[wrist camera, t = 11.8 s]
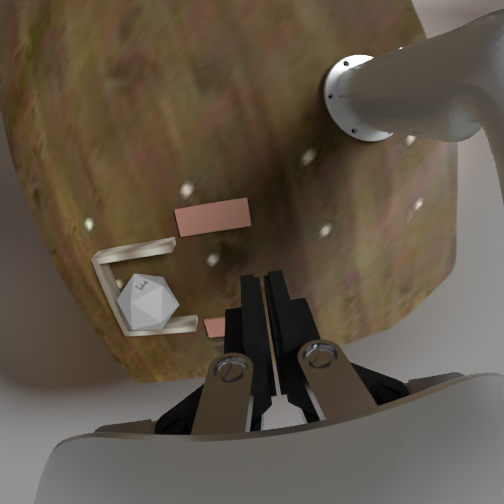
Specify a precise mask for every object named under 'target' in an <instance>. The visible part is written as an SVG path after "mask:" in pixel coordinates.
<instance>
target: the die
mask: <svg viewBox="0 0 504 504" xmlns="http://www.w3.org/2000/svg"><path fill="white" fill-rule="evenodd" d="M117 302H118V304H119V306H120V308H121V310H122V312H123V314H124V315H125V317H126V319H127V321H128V323H129V325H130V327H131V329H132V330H161V329H162V328H163V327H164V325H165V324H166V322H167V321H168V320H169V318H170V317H171V315H172V314H173V313H174V311H175V310H176V309H177V307H178V306H179V303H178V302H177V300H176V298H175V297H174V295H173V293H172V292H171V290H170V288H169V286H168V285H167V283H166V281H165V279H164V278H163V277H160V276H152V275H144V274H135V273H134V274H133V276H132V277H131V279H130V280H129V282H128V283H127V285H126V287H125V288H124V290H123V291H122V293H121V294H120V296H119V297H118V299H117Z"/></svg>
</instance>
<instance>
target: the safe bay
mask: <svg viewBox="0 0 504 504" xmlns="http://www.w3.org/2000/svg"><path fill="white" fill-rule="evenodd" d="M175 245H176V241H175V237H172V238H166V239H160V240H154V241H148V242H143V243H137V244H131V245H126V246H120V247H115V248H110V249H104V250H99V251H98V252H97V253H96V254H95V255H94V256H93V258H92V259H91V260H92V263H93V265H94V268H95V271H96V273H97V276H98V278H99V281H100V283H101V285H102V288H103V290H104V292H105V295H106V297H107V299H108V302H109V304H110V306H111V308H112V310H113V312H114V315H115V317H116V319H117V321H118V323H119V325H120V327H121V329H122V331H123V333H124V335H125V336H142V335H157V334H170V333H182V332H193V331H196V330H197V324H198V317H197V315H191V316H181V317H171V318H169V320H168V321H167V322H166V324H165V325H164V327H163V328H162V329H161V330H132V329H131V327H130V325H129V323H128V321H127V319H126V317H125V315H124V314H123V312H122V310H121V308H120V306H119V304H118V302H117V299H118V297H119V296H120V294H121V293H120V290H119V288H118V286H117V283H116V281H115V278H114V275H113V273H112V270H111V267H110V265H109V262H115V261H121V260H127V259H133V258H140V257H146V256H152V255H159V254H165V253H171V252H172V251H173V249H174V247H175Z"/></svg>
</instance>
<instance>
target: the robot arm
mask: <svg viewBox="0 0 504 504" xmlns="http://www.w3.org/2000/svg"><path fill="white" fill-rule="evenodd" d="M343 63H344V64H345V66H344V65H343ZM323 94H324V101H325V105H326V108H327V111H328V113H329V115H330V117H331V118H332V120H333V121H334V123H335V124H336V125H337V126H338V127H339V128H340V129H341V130H342V131H344V132H345V133H346V134H348V135H350V136H352V137H354V138H356V139H359V140H363V141H380V140H384V139H386V138H388V137H390V136H391V135H393V134H394V133H397V134H404V135H411V136H417V137H423V138H429V139H435V140H440V141H445V142H460V141H463V140H466V139H469V138H470V137H472V136H473V135H475V134H476V133H477V132H478V131H479V130H480V129H481V128H482V127H483V129H484V131H485V133H486V136H487V138H488V141H489V144H490V147H491V151H492V154H493V156H494V160H495V164H496V169H497V173H498V177H499V182H500V187H501V193H502V198H503V203H504V8H503V9H499V10H496V11H492V12H490V13H487V14H485V15H483V16H481V17H479V18H477V19H475V20H473V21H470V22H468V23H466V24H465V25H462V26H460V27H458V28H456V29H453V30H451V31H449V32H447V33H444V34H441V35H438V36H435V37H433V38H429V39H426V40H423V41H420V42H417V43H414V44H411V45H408V46H405V47H402V48H399V49H396V50H393V51H391V52H388V53H385V54H382V55H380V56H377V57H375V58H373V57H371V56H366V55H352V56H348V57H345V58H343V59H341V60H340V61H338V62H337V63H335V64H334V65H333V66H332V67H331V68H330V70H329V72H328V74H327V75H326V78H325V81H324V88H323ZM329 95H330V96H331V99H329V97H328V96H329ZM352 129H353V132H352ZM240 280H241V304H242V307H241V308H233V309H226V311H225V338H224V355H221V356H219V357H217V358H216V359H214V361H213V362H212V363H211V364H210V366H209V368H208V372H207V376H206V379H205V383H204V384H203V385H202V386H201V387H199V388H198V389H197V390H195V391H194V392H193V393H192V394H190V395H189V396H188V397H186V398H185V399H184V400H182V401H181V402H180V403H178V404H177V405H176V406H175V407H173V408H172V409H170V410H169V411H168V412H167V413H165V414H164V415H162V416H161V417H160V418H159V420H158V421H152V420H151V419H148V420H143V421H136V422H128V423H121V424H112V425H105V426H101V427H99V428H98V429H96V430H95V432H94V433H88V434H82V435H77V436H73V437H70V438H67V439H65V440H63V441H61V442H60V443H58V444H57V445H56V446H55V448H54V449H53V450H52V452H51V454H50V456H49V458H48V460H47V462H46V464H45V467H44V470H43V472H42V475H41V478H40V482H39V485H38V489H37V493H36V497H35V501H34V504H504V375H502V374H499V373H488V372H487V373H476V374H470V375H466V376H465V375H463V374H461V373H458V372H457V373H456V372H454V373H448V374H442V375H437V376H431V377H424V378H419V379H411V380H409V381H408V383H403V382H401V381H399V380H397V379H394V378H391V377H388V376H386V375H383V374H380V373H377V372H375V371H372V370H369V369H366V368H364V367H361V366H359V365H356V364H353V363H351V362H349V360H348V359H347V357H346V356H345V354H344V353H343V352H342V350H341V348H340V347H339V346H338V345H337V344H335V343H334V342H332V341H328V340H321V339H320V336H319V333H318V330H317V328H316V325H315V322H314V320H313V317H312V314H311V311H310V309H309V306H308V303H307V301H306V299H305V298H300V299H294V300H290V297H289V294H288V290H287V287H286V284H285V280H284V277H283V274H282V271H281V270H277V271H271V272H268V276H264V284H265V292H266V299H267V307H268V314H269V322H270V329H271V336H272V342H273V348H274V354H275V360H276V365H277V372H278V378H279V383H280V390H281V395H285V394H287V398H288V402H290V403H291V404H293V405H295V406H297V407H299V410H300V414H301V416H302V419H303V421H304V423H305V424H302V425H297V426H291V427H284V428H278V429H270V430H263V426H264V412H265V411H266V410H267V409H268V408H269V407H270V406H271V405H272V401H271V397H272V396H277V395H276V388H275V380H274V373H273V365H272V358H271V351H270V344H269V337H268V331H267V324H266V317H265V311H264V304H263V298H262V291H261V285H260V278H259V277H254V274H250V275H243V276H240Z"/></svg>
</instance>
